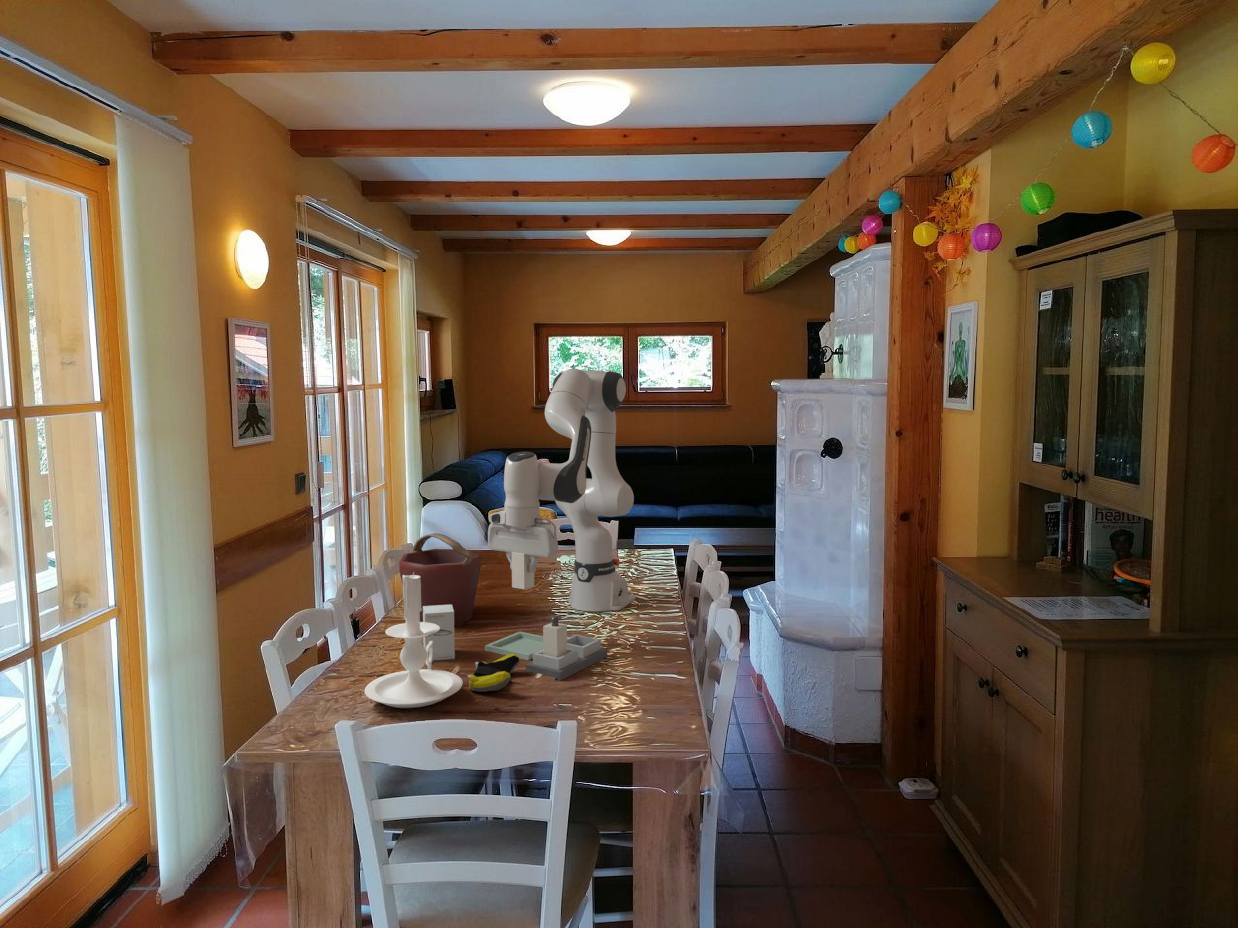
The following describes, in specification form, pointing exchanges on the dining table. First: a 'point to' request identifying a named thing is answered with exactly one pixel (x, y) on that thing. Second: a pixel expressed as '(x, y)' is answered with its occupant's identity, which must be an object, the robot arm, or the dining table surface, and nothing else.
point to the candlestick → (413, 660)
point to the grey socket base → (564, 652)
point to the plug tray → (517, 645)
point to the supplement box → (440, 631)
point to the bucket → (444, 575)
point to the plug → (521, 571)
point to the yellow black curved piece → (493, 674)
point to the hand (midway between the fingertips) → (523, 570)
